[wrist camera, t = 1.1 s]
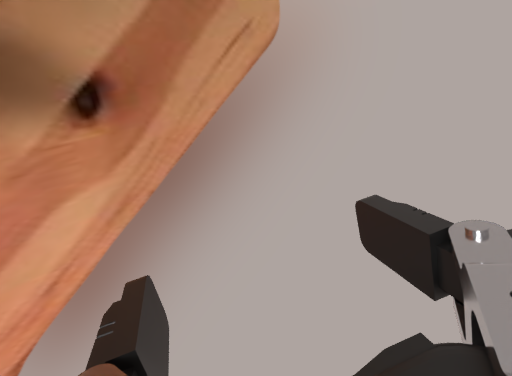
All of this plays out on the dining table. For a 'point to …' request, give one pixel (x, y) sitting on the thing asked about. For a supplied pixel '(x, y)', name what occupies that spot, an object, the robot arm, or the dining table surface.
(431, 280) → the robot arm
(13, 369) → the dining table surface
